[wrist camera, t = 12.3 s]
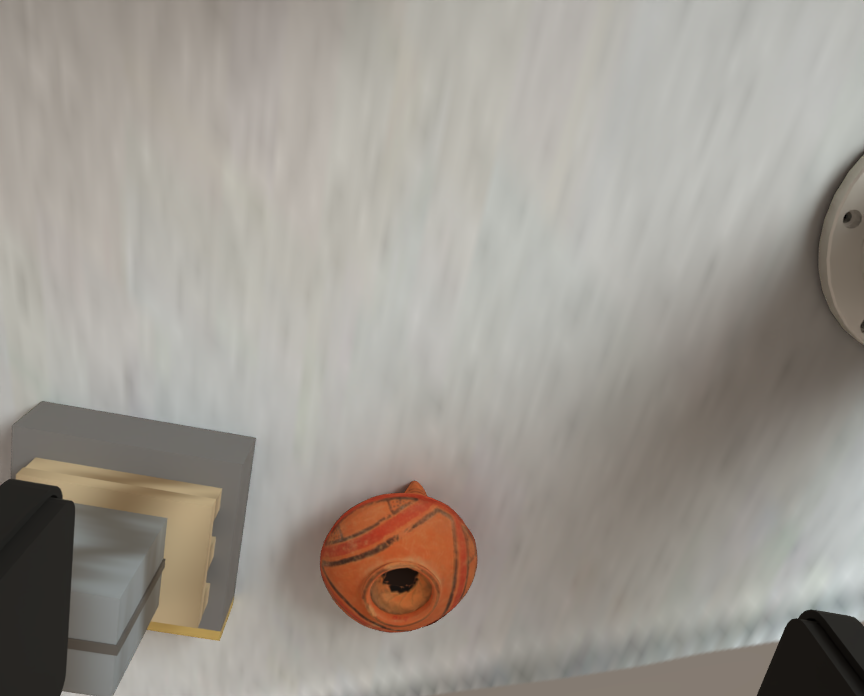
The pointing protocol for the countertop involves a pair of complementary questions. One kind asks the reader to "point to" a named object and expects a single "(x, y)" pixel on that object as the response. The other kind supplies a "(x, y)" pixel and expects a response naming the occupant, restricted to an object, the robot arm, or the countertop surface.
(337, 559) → the pot
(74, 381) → the countertop surface
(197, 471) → the dock
